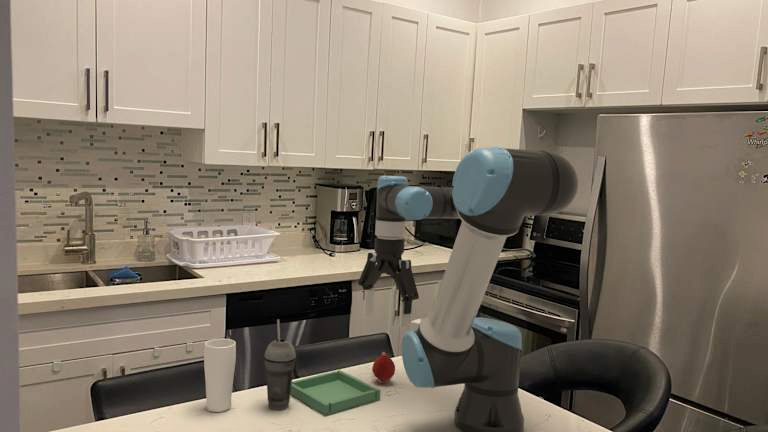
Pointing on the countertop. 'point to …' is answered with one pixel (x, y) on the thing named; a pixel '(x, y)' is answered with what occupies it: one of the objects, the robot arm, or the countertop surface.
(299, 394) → the green square tray
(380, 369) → the onion
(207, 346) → the drinking glass
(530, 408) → the countertop surface
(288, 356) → the beverage cup
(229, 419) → the countertop surface
